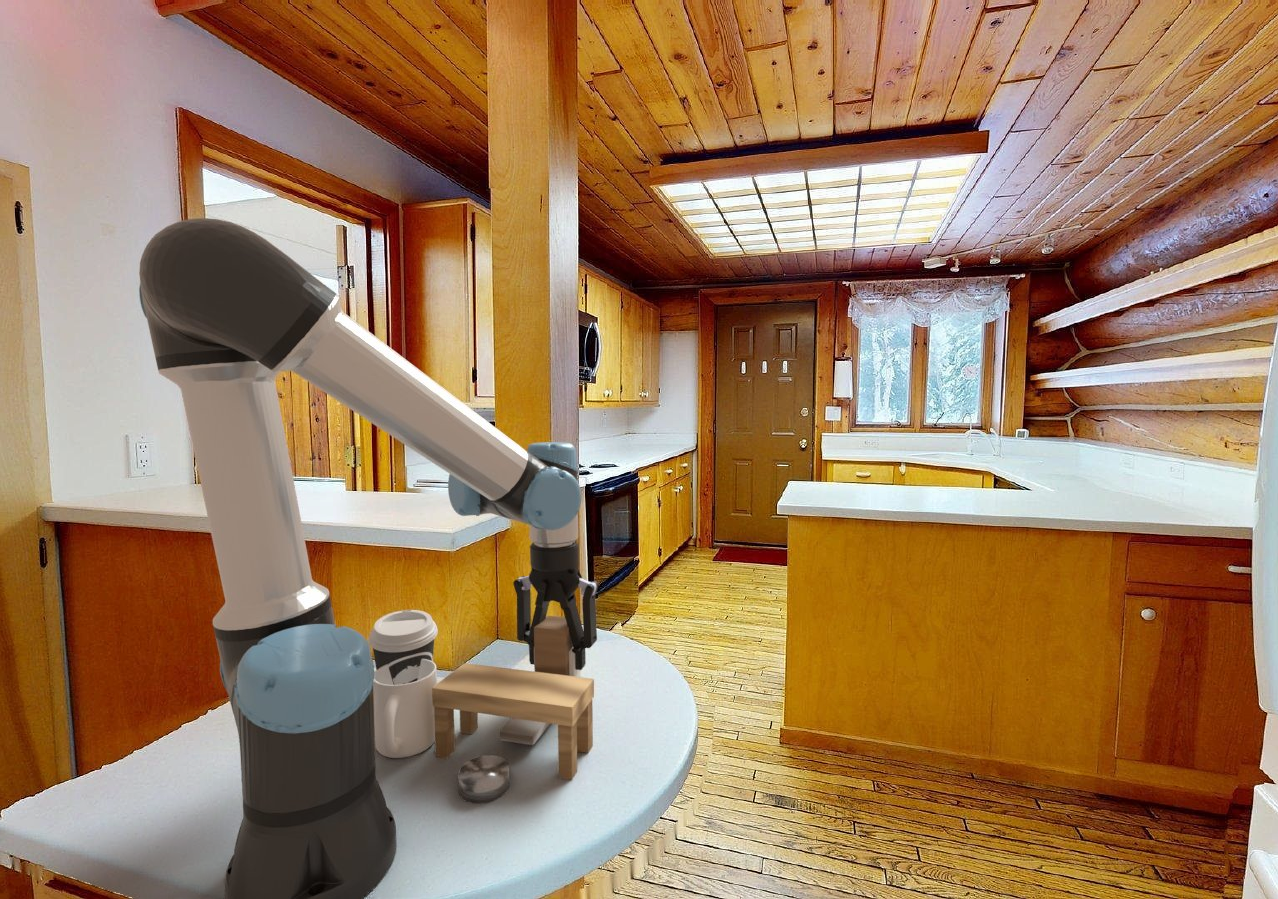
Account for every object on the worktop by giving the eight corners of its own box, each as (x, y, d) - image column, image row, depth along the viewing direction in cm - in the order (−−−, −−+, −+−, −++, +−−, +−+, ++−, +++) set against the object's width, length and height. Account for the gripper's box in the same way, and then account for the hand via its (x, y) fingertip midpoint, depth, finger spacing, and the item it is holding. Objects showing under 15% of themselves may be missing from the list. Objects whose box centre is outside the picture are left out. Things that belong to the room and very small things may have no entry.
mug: (420, 777, 75) (417, 699, 74) (353, 779, 74) (349, 701, 73) (445, 724, 87) (443, 657, 86) (388, 726, 86) (385, 658, 85)
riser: (573, 780, 74) (572, 707, 73) (433, 756, 79) (431, 688, 78) (594, 745, 81) (593, 678, 81) (466, 725, 87) (464, 663, 86)
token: (493, 809, 69) (492, 789, 69) (448, 800, 70) (448, 780, 70) (518, 778, 74) (517, 760, 74) (476, 770, 76) (476, 752, 76)
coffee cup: (451, 698, 93) (448, 610, 90) (420, 738, 84) (417, 642, 81) (394, 691, 95) (390, 604, 92) (358, 729, 85) (353, 634, 82)
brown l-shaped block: (533, 745, 79) (531, 662, 78) (499, 739, 80) (496, 658, 80) (579, 687, 95) (577, 618, 94) (549, 684, 96) (548, 615, 96)
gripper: (617, 539, 92) (619, 681, 94) (513, 533, 97) (517, 669, 99) (601, 550, 85) (604, 705, 87) (489, 544, 90) (494, 690, 92)
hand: (557, 685), depth 93 cm, fingers closed on brown l-shaped block, 5 cm apart
